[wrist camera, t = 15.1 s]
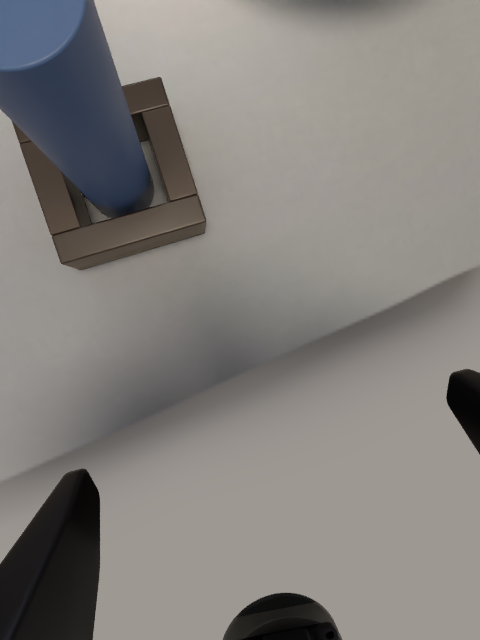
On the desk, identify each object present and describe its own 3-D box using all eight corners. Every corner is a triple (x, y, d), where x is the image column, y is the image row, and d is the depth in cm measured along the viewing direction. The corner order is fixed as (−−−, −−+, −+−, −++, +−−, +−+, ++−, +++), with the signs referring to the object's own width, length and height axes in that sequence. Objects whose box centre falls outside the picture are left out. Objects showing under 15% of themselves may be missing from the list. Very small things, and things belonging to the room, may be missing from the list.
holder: (205, 233, 22) (206, 221, 19) (79, 270, 21) (60, 264, 18) (165, 108, 21) (160, 75, 18) (35, 141, 20) (8, 113, 18)
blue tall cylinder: (147, 226, 21) (70, 88, 8) (84, 213, 21) (-111, 45, 7) (158, 165, 21) (99, -77, 8) (95, 150, 21) (-81, -131, 7)
